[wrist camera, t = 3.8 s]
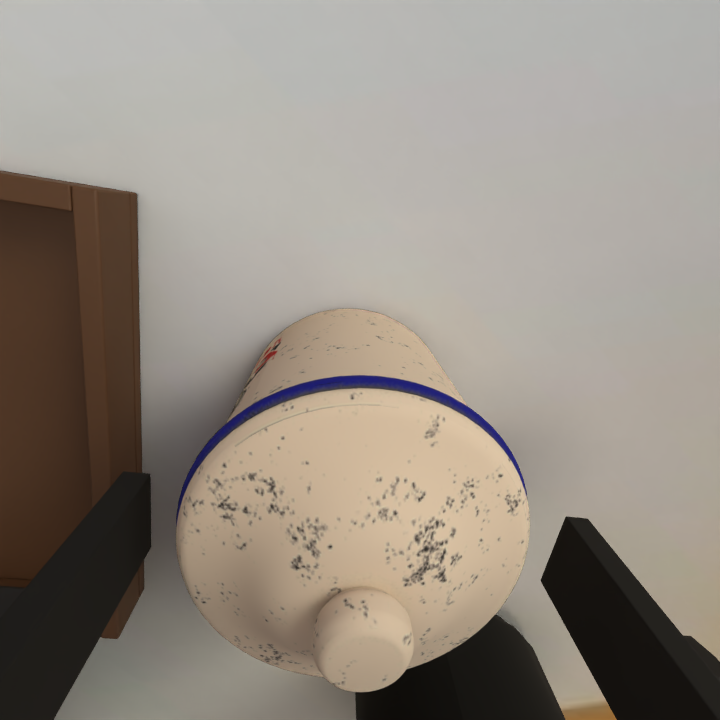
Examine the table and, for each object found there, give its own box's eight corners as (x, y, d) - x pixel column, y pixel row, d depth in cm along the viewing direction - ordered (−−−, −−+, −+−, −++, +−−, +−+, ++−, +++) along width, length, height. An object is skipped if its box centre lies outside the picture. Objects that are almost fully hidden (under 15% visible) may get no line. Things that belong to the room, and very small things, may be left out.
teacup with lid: (236, 300, 17) (55, 462, 6) (454, 301, 17) (658, 450, 6) (257, 533, 21) (171, 886, 10) (433, 528, 21) (536, 857, 10)
